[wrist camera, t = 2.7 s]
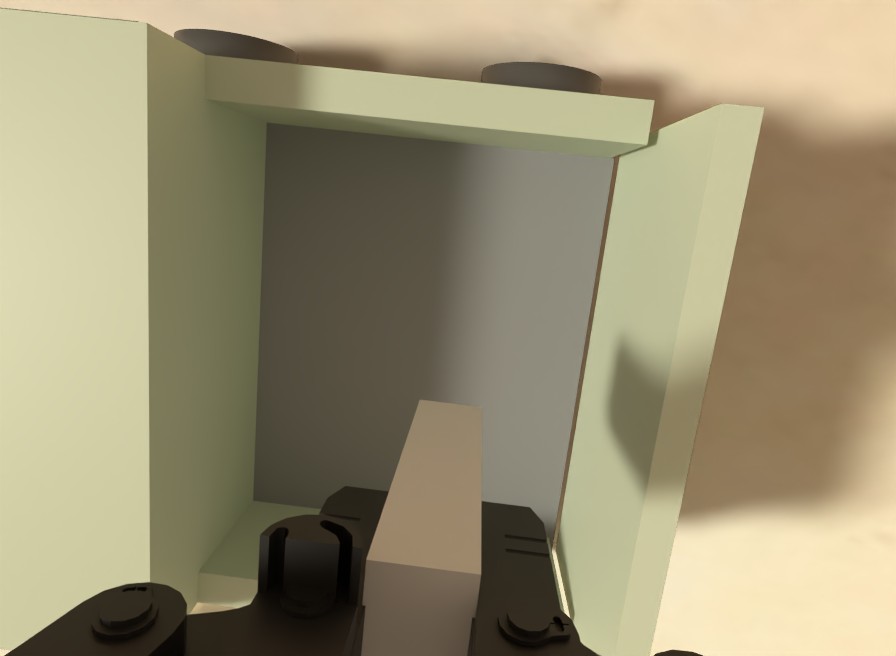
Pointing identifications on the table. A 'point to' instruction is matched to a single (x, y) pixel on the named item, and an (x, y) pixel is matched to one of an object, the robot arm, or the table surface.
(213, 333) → the pickup truck
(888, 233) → the table surface
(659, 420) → the panel
